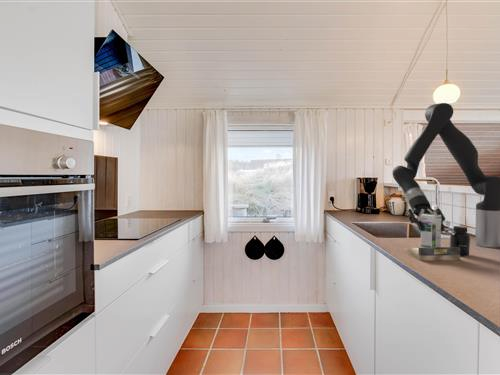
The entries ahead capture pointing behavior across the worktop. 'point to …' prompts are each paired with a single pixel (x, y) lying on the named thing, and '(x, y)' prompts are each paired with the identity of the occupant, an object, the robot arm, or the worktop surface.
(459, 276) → the worktop surface
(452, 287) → the worktop surface
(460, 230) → the supplement bottle
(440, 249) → the price shelf
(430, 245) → the syrup box
